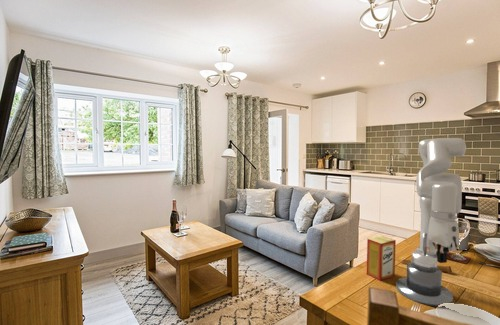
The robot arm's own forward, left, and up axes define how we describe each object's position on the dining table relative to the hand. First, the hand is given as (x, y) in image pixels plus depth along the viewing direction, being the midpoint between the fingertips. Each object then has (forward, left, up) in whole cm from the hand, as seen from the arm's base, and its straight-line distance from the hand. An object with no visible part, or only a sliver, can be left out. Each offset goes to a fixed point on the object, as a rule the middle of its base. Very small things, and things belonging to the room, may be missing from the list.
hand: (441, 261), depth 102 cm
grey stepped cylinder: (+9, +2, -11) cm, 14 cm away
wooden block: (+6, -1, -1) cm, 6 cm away
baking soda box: (+17, -13, -11) cm, 24 cm away
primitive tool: (-8, -18, -11) cm, 23 cm away
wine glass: (-45, -39, -11) cm, 60 cm away
